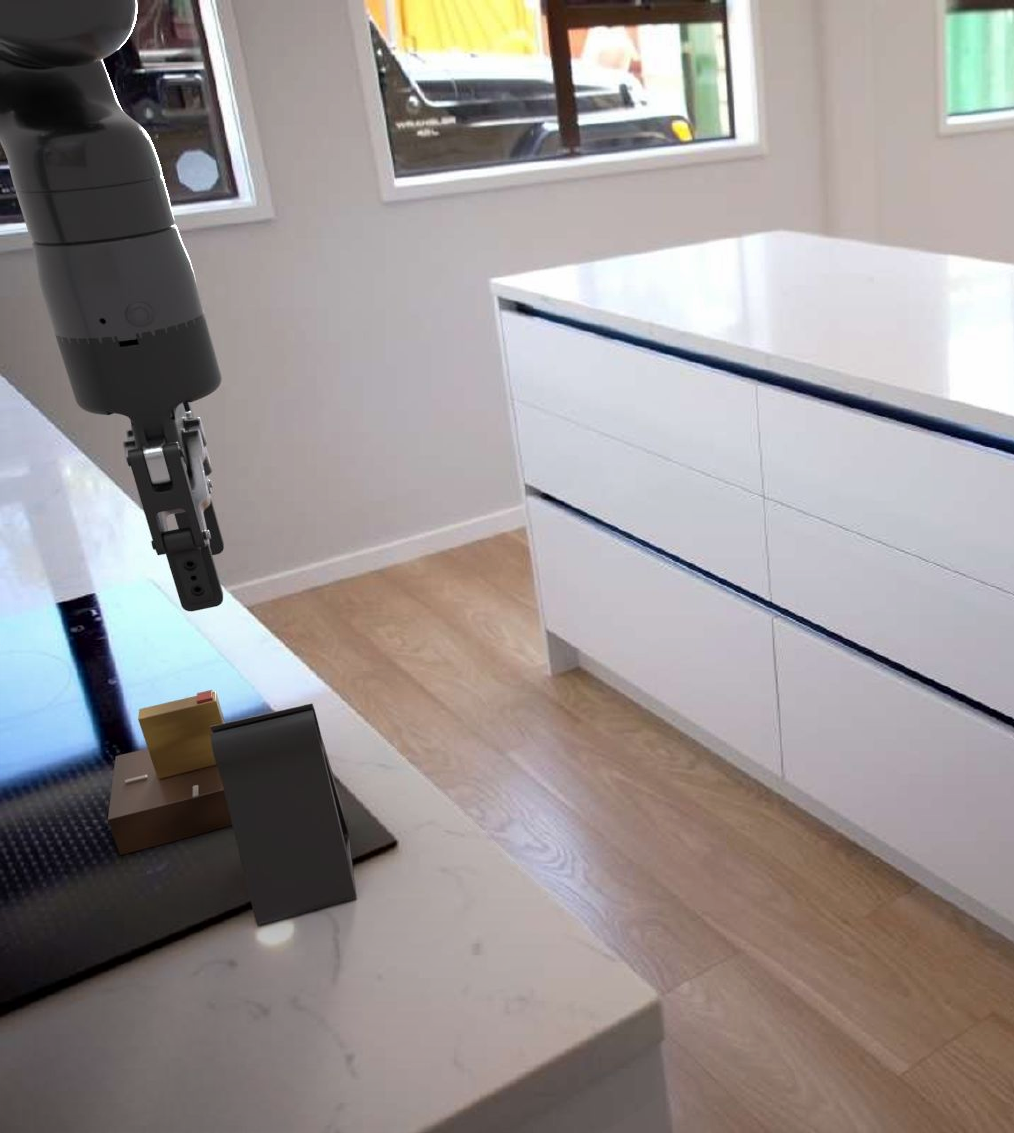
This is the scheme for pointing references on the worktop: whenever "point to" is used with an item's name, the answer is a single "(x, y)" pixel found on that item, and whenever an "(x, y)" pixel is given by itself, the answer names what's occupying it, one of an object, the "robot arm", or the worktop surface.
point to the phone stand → (285, 812)
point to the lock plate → (163, 803)
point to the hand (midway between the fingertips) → (205, 579)
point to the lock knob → (181, 733)
